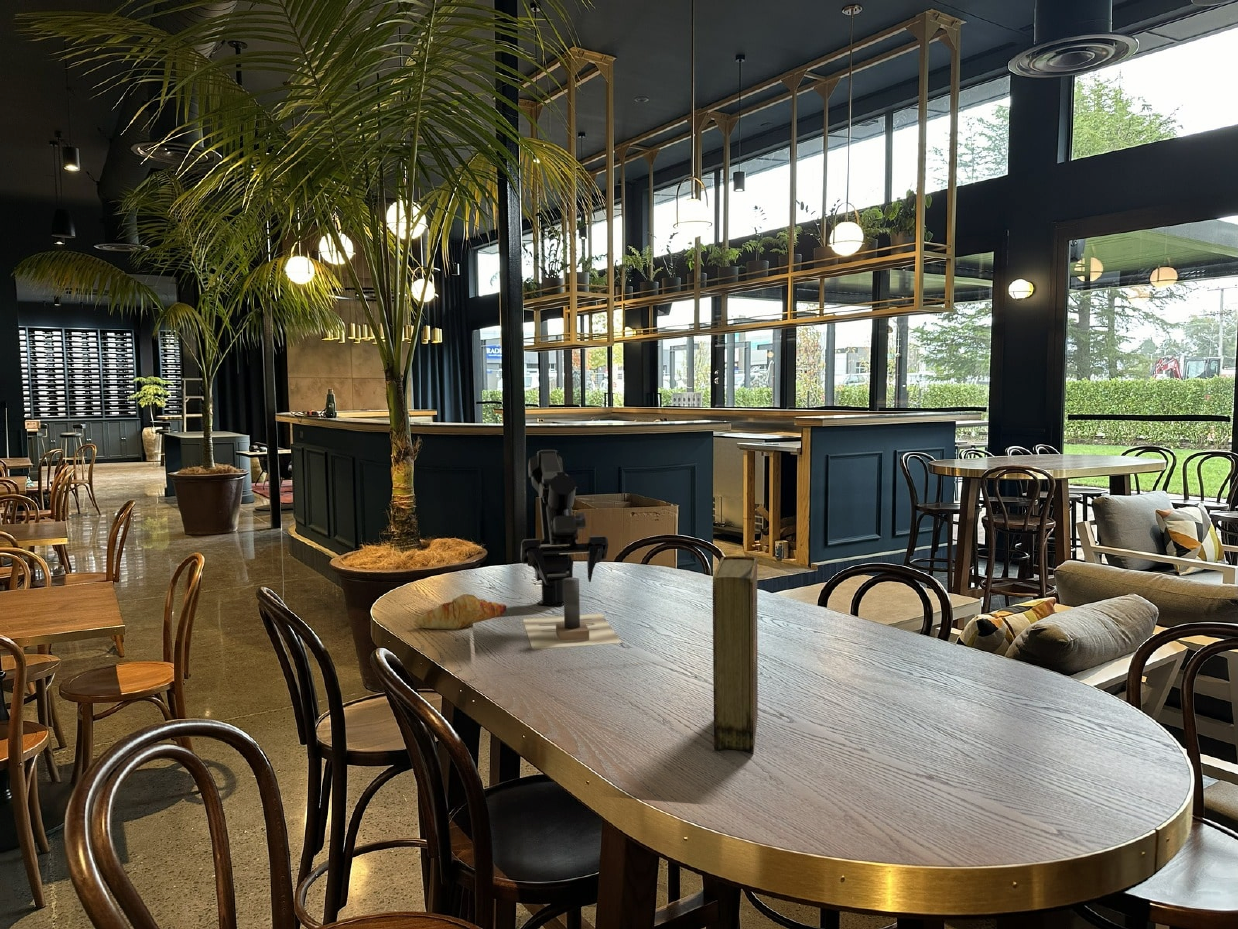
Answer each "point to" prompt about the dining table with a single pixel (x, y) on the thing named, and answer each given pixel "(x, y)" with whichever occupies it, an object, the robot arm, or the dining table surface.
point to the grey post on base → (571, 614)
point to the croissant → (460, 613)
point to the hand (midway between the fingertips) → (568, 582)
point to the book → (735, 653)
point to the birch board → (546, 637)
